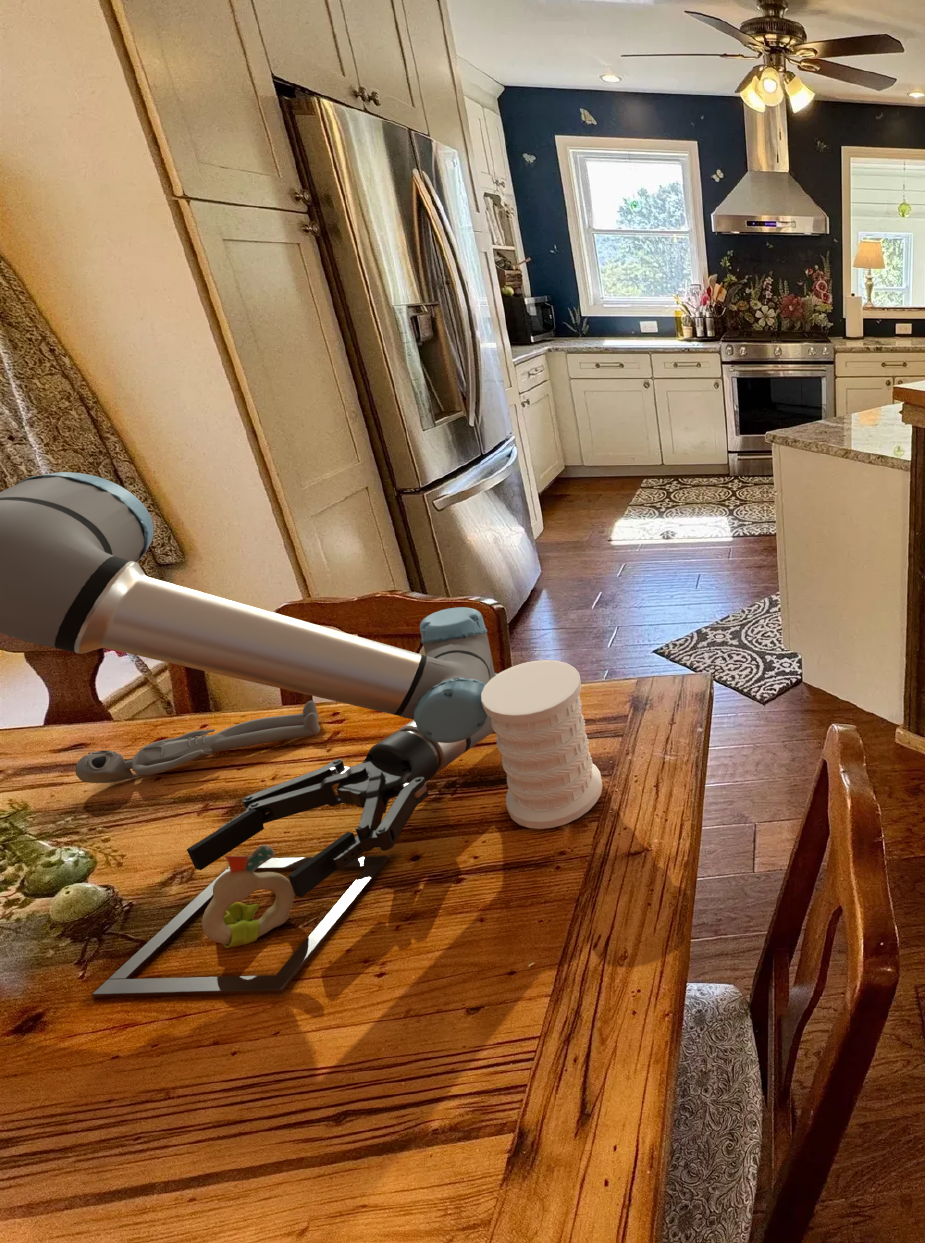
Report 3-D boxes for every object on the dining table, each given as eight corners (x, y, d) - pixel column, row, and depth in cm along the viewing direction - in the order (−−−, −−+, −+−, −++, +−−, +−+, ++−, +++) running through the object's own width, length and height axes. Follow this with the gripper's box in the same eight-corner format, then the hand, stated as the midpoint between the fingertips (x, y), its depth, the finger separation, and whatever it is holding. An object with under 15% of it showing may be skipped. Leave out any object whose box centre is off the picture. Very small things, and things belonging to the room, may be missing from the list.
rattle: (301, 880, 80) (270, 799, 76) (304, 928, 74) (270, 843, 70) (214, 913, 76) (175, 829, 72) (209, 966, 70) (166, 879, 66)
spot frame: (93, 998, 67) (91, 994, 67) (239, 861, 83) (237, 858, 82) (282, 993, 68) (280, 989, 68) (390, 858, 84) (389, 855, 83)
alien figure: (315, 714, 103) (63, 774, 88) (323, 742, 105) (77, 806, 90) (313, 691, 109) (76, 744, 94) (320, 718, 111) (88, 774, 96)
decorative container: (486, 807, 91) (454, 697, 82) (559, 753, 100) (536, 648, 92) (552, 842, 87) (525, 729, 78) (621, 782, 96) (604, 675, 88)
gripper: (502, 793, 91) (349, 926, 72) (347, 760, 96) (166, 876, 77) (491, 744, 88) (328, 869, 69) (332, 713, 94) (140, 821, 74)
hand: (242, 873), depth 73 cm, fingers open, 13 cm apart
